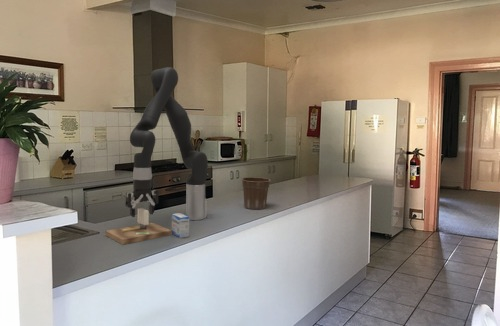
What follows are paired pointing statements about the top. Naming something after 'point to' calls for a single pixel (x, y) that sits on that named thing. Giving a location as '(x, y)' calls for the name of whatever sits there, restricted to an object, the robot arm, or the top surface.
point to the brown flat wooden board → (138, 233)
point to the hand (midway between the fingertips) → (142, 215)
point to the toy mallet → (141, 219)
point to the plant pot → (255, 192)
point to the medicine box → (180, 225)
